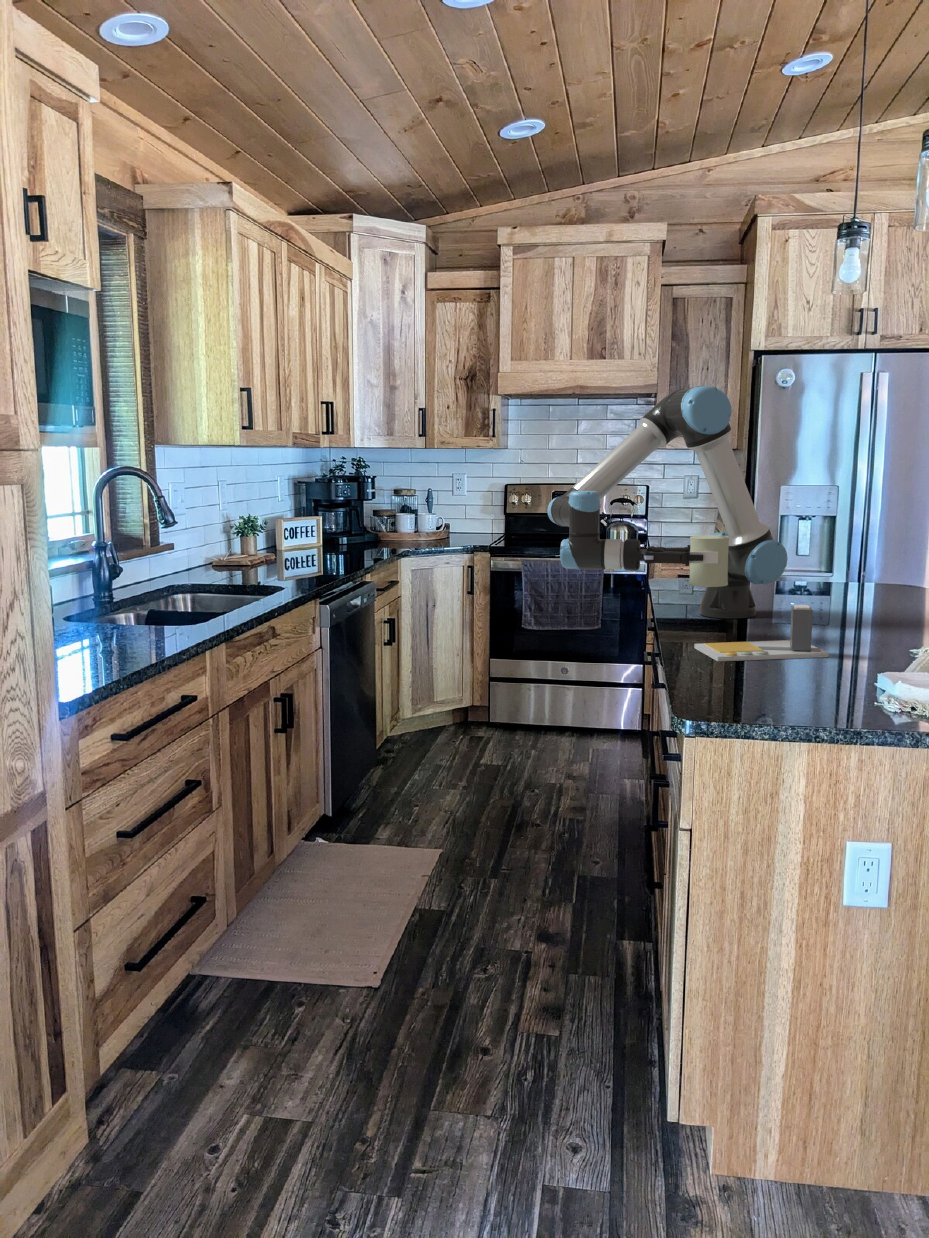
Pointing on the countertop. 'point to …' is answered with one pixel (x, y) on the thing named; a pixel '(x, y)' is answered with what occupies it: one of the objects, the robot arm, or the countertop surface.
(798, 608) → the grey upright block
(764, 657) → the panel
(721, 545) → the can
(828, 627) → the countertop surface
